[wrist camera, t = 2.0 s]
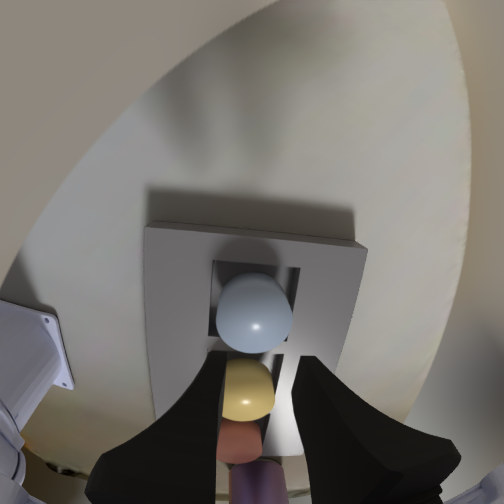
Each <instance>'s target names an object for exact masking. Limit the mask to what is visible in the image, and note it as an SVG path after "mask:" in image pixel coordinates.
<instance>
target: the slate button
mask: <svg viewBox="0 0 504 504" xmlns="http://www.w3.org/2000/svg"><path fill="white" fill-rule="evenodd" d="M292 322H293V315H292V311H291V308H290V305H289V303H288V300H287V298H286V295H285V292H284V290H283V288H282V287H281V285H280V284H279V283H278V282H277V281H276V280H275V279H274V278H272V277H270V276H268V275H266V274H263V273H258V272H248V273H243V274H240V275H238V276H236V277H234V278H232V279H231V280H230V281H228V282H227V283H226V284H225V286H224V287H223V289H222V290H221V293H220V295H219V300H218V308H217V316H216V326H217V330H218V333H219V335H220V337H221V338H222V340H223V341H224V342H225V343H226V344H227V345H229V346H230V347H232V348H233V349H235V350H238V351H241V352H245V353H261V352H266V351H269V350H271V349H273V348H275V347H277V346H278V345H279V344H281V343H282V342H283V341H284V340H285V339H286V337H287V336H288V334H289V332H290V330H291V327H292Z"/></svg>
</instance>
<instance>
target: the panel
mask: <svg viewBox="0 0 504 504" xmlns="http://www.w3.org/2000/svg"><path fill="white" fill-rule="evenodd" d="M367 252H368V249H367V248H365V247H364V246H362V245H361V244H359V243H358V242H356V241H349V240H341V239H333V238H324V237H315V236H306V235H297V234H288V233H279V232H269V231H259V230H250V229H239V228H229V227H219V226H208V225H197V224H185V223H174V222H162V221H153V222H151V223H150V224H148V225H147V226H145V227H144V297H145V319H146V335H147V347H148V358H149V368H150V377H151V386H152V393H153V401H154V408H155V414H156V420H158V419H159V418H160V417H161V416H162V415H163V414H164V413H166V412H167V411H168V410H169V409H170V408H171V407H172V406H173V405H174V404H175V402H176V401H177V400H178V399H179V398H180V397H181V396H182V394H183V393H184V392H185V391H186V389H187V388H188V387H189V385H190V384H191V383H192V381H193V380H194V378H195V377H196V375H197V374H198V372H199V371H200V369H201V367H202V365H203V364H204V362H205V360H206V357H207V355H208V352H210V351H222V352H227V361H229V360H232V359H237V358H249V359H253V360H257V361H259V362H261V363H262V364H264V365H265V366H266V367H267V368H268V369H269V371H270V373H271V377H272V382H273V388H274V394H275V404H274V407H273V408H272V410H271V411H270V412H269V413H268V414H266V415H265V416H263V417H261V418H259V419H256V420H253V421H254V422H256V423H257V424H258V425H259V427H260V432H261V442H262V454H261V455H260V456H292V455H302V454H303V452H304V449H303V446H302V442H301V439H300V435H299V431H298V428H297V424H296V420H295V417H294V413H293V405H292V397H291V390H292V386H293V383H294V379H295V375H296V371H297V367H298V363H299V359H300V356H316V357H317V358H318V359H319V360H320V361H321V362H322V363H323V364H324V365H325V366H326V367H327V368H328V369H329V370H330V371H331V372H332V373H333V374H334V373H335V370H336V367H337V364H338V361H339V358H340V355H341V352H342V348H343V345H344V342H345V339H346V335H347V332H348V328H349V325H350V321H351V318H352V314H353V311H354V307H355V303H356V299H357V295H358V291H359V287H360V283H361V279H362V275H363V270H364V266H365V261H366V257H367ZM248 272H258V273H263V274H266V275H268V276H270V277H272V278H274V279H275V280H276V281H277V282H278V283H279V284H280V285H281V287H282V288H283V290H284V292H285V295H286V298H287V300H288V303H289V305H290V308H291V311H292V315H293V322H292V327H291V330H290V332H289V334H288V336H287V337H286V339H285V340H284V341H283V342H282V343H281V344H279V345H278V346H277V347H275V348H273V349H271V350H269V351H266V352H261V353H245V352H241V351H238V350H235V349H233V348H232V347H230V346H229V345H227V344H226V343H225V342H224V341H223V340H222V338H221V337H220V335H219V333H218V330H217V326H216V316H217V308H218V300H219V295H220V293H221V290H222V289H223V287H224V286H225V284H226V283H227V282H228V281H230V280H231V279H232V278H234V277H236V276H238V275H240V274H243V273H248ZM223 418H225V417H223V416H222V419H223Z"/></svg>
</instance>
